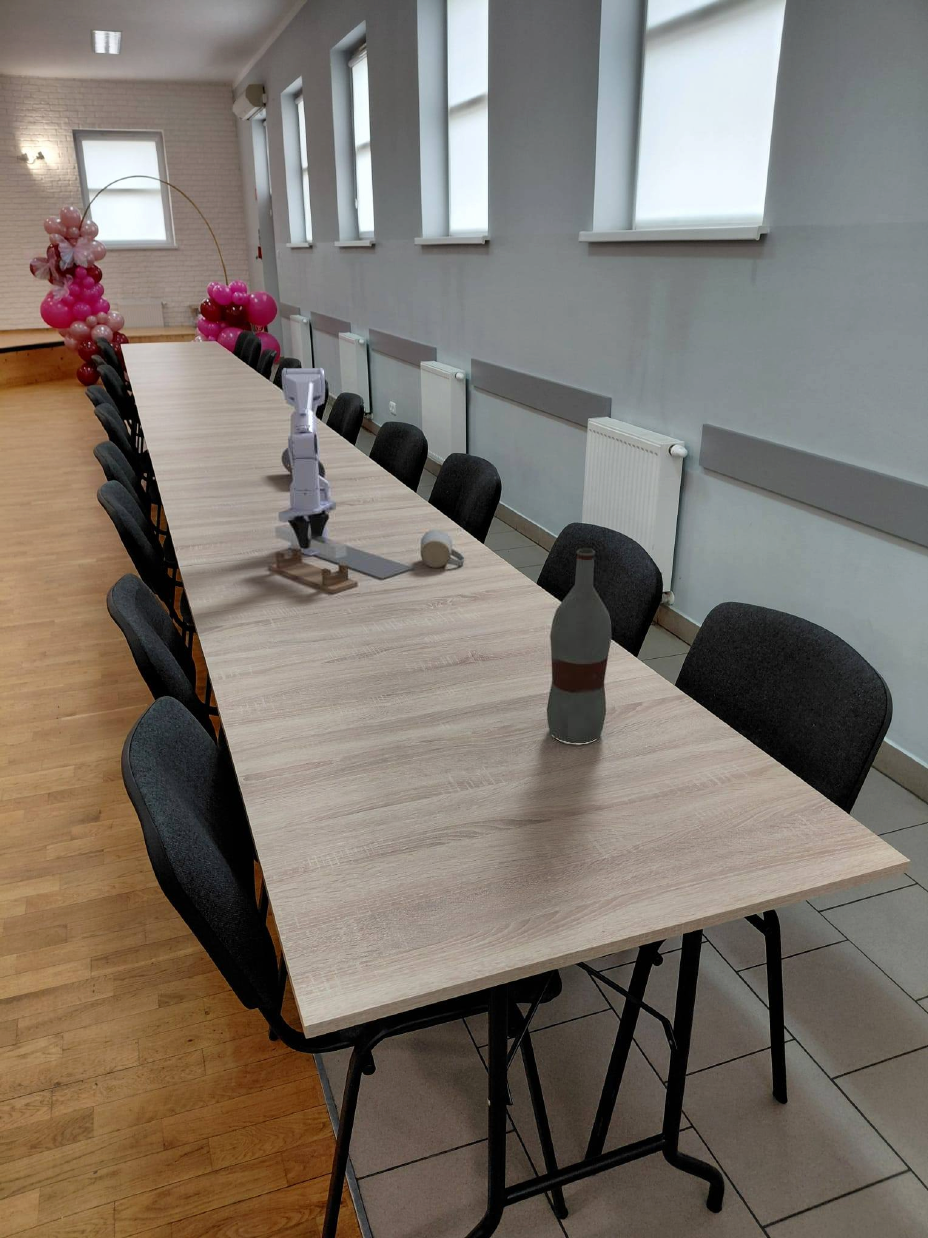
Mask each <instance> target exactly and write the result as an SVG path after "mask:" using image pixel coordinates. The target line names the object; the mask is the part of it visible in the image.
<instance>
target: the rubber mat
mask: <svg viewBox="0 0 928 1238" xmlns="http://www.w3.org/2000/svg"><path fill="white" fill-rule="evenodd" d="M346 552H347V555H346V556H343V557H339V558H333V557H331V556H328V555H325V554H322V553H317V554H314V555H312V556H314V557H316V558H319V559H322V560H325V561H328V562H331V563H334V564H337V565H338V564H341V563H343V564H346V565H348V569H351V570H353V571H356V572H358V573H359V572H360V573H362V574H364V575H368V576H371V577H373V578H376V579H378V580H382V581H383V580H386V579H389V578H392V577H395V576H399V575H402V574H405V573H407V572H411V571H413V570H415V568H414V567H412V566H409V565H406V564H404V563H400V562H397V561H394V560H392V559H388V558H385V557H382V556H379V555H376V554H374V553H370V552H368V551H367V552H366V551H364V550H360V549H357V548H355V547H352V546H350V545H346Z"/></svg>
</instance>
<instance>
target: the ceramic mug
mask: <svg viewBox="0 0 928 1238" xmlns="http://www.w3.org/2000/svg"><path fill="white" fill-rule="evenodd" d="M419 554H420V558H421V560H422V562H423V563H424V564H425V565H426V566H427V567H430V568H432V569H439V568H442V567H444V566H446V565H448V563H449V564H451V565H453V566H457V567H461V566H463V565H464V563H465V560H466V559H465V556H464V555H463V554H462V553H460V552H459V551H457V550H456V549H454V548H453V541H452V538H451V536H450V535H449V534H448V533H447V532H446V531H444V530H441V529H436V528H434V529H430V530H428V531H426V532H425V533H424V534H423V535H422V537H421V539H420V553H419ZM453 557H454V558H453Z"/></svg>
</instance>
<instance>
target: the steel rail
mask: <svg viewBox="0 0 928 1238" xmlns="http://www.w3.org/2000/svg"><path fill="white" fill-rule="evenodd" d="M274 527H275V529H274V530H275V538H276V539H280V540H282V541H286V542H289V543H290V544H291V543H294V544H296V545H299V542H298V539H297V537H296V534H295V532H294V530H293V528H292V527H291V526H290V524H282V525H278V526H274ZM346 546H347V544H346V543H342V542H340V541H338V540H335V539H331V538H329V537H328V538H325V537H322V536H319V535H316V534H313V533H310V532H308V549H311V550H314V551H316V552H319V553H322V554H325V555H328V556H331V557H333V558H339V557H343V556H346V555H347V552H346Z"/></svg>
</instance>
